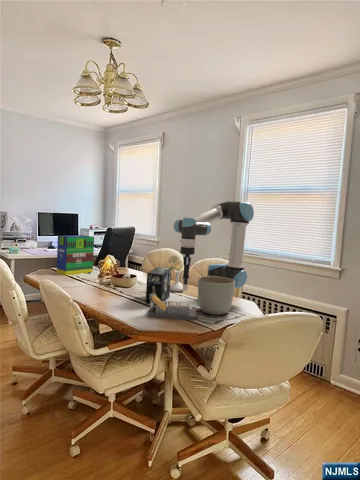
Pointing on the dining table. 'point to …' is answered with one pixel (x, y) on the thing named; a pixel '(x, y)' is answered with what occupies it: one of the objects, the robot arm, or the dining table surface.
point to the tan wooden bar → (157, 301)
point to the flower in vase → (177, 285)
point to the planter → (215, 294)
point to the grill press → (172, 311)
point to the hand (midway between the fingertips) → (184, 289)
